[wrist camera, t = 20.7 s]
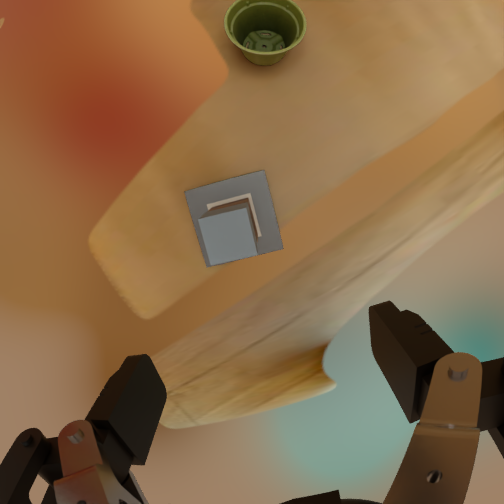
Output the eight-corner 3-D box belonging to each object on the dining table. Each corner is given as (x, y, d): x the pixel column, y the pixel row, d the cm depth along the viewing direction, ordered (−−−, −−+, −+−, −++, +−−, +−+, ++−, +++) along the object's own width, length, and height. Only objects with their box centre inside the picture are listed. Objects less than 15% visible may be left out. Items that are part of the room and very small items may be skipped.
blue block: (205, 212, 35) (197, 219, 30) (247, 202, 34) (246, 207, 29) (216, 252, 36) (210, 265, 31) (257, 243, 36) (257, 255, 31)
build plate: (185, 191, 40) (184, 191, 39) (263, 170, 39) (264, 170, 38) (207, 265, 43) (206, 267, 42) (283, 246, 42) (283, 249, 41)
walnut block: (211, 207, 39) (205, 212, 35) (248, 197, 39) (247, 201, 34) (222, 242, 41) (217, 252, 36) (257, 233, 40) (258, 242, 36)
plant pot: (226, 74, 35) (219, 52, 27) (233, 20, 33) (228, -10, 24) (294, 80, 36) (304, 59, 27) (298, 25, 33) (307, -4, 25)
